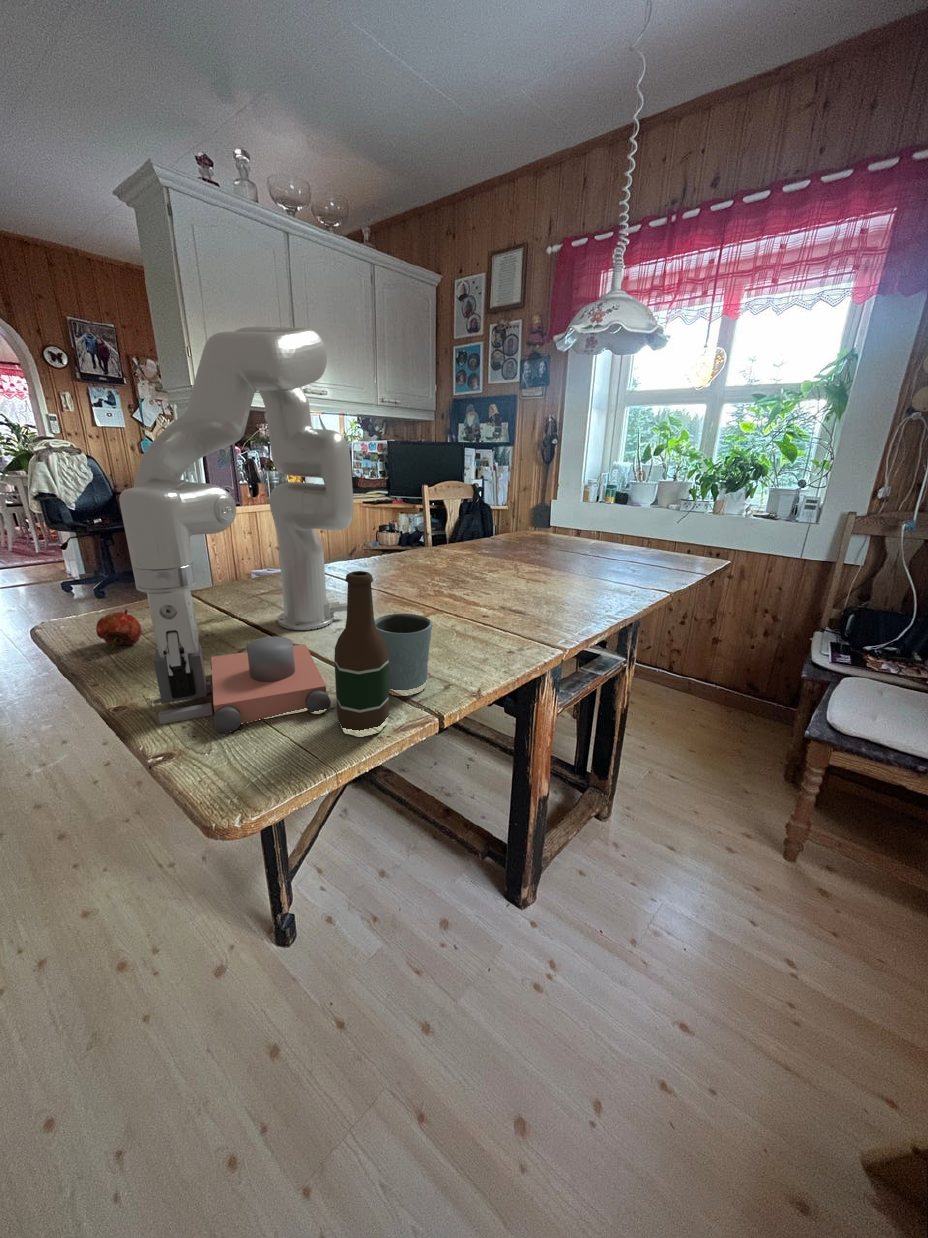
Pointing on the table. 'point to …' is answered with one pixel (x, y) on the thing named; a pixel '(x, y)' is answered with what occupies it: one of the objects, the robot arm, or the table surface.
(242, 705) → the toy tractor cart
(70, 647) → the table surface
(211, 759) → the table surface
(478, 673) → the table surface
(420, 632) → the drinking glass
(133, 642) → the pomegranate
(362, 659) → the beer bottle
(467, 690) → the table surface
